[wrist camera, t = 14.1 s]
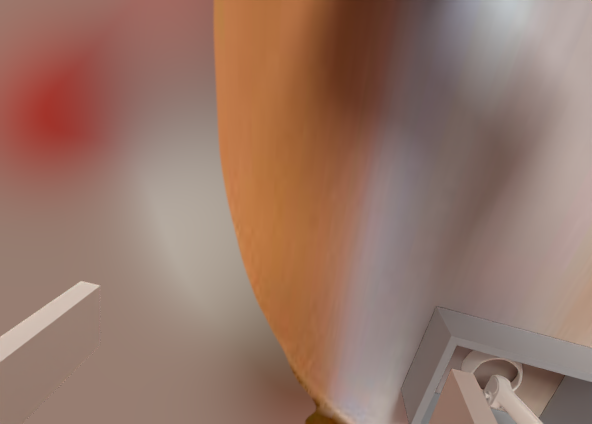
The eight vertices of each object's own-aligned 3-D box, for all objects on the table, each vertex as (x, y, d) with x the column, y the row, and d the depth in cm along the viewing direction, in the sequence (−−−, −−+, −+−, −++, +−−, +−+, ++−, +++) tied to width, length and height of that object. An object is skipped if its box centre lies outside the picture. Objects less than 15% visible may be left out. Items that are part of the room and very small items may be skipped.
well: (436, 306, 44) (451, 335, 39) (591, 347, 44) (629, 384, 38) (401, 389, 49) (409, 426, 43) (541, 428, 48) (568, 471, 42)
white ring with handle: (560, 447, 42) (527, 472, 39) (479, 364, 51) (447, 379, 48) (597, 414, 39) (564, 438, 35) (503, 330, 47) (470, 344, 44)
